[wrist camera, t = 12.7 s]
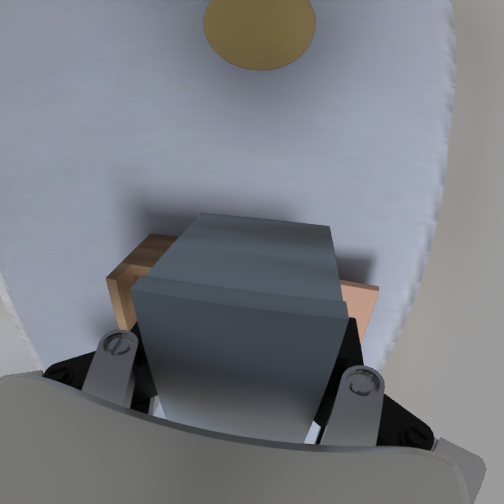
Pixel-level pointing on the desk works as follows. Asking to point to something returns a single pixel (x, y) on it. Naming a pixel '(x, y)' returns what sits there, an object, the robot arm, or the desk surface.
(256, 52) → the light bulb
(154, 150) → the desk surface
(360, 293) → the panel
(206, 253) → the blue gray block
